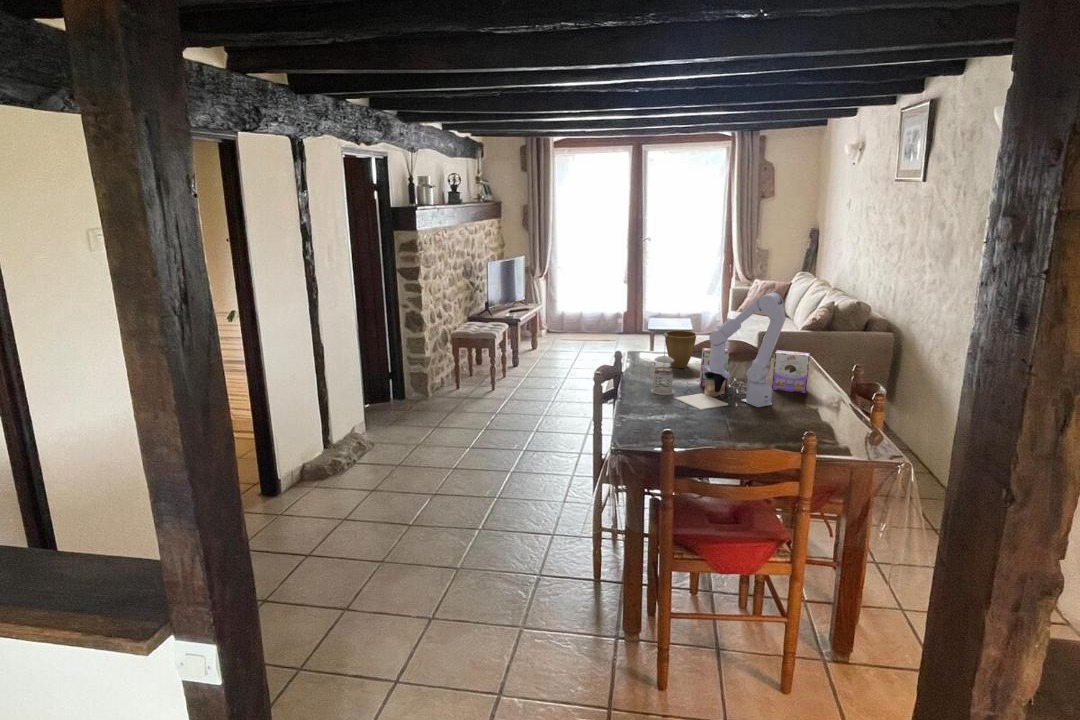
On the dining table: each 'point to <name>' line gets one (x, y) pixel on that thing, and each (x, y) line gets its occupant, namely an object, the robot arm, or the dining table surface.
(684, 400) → the mat
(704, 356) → the candy bar box
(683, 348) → the plant pot
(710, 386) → the slab
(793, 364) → the candy box
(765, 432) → the dining table surface
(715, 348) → the robot arm
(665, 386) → the french press
